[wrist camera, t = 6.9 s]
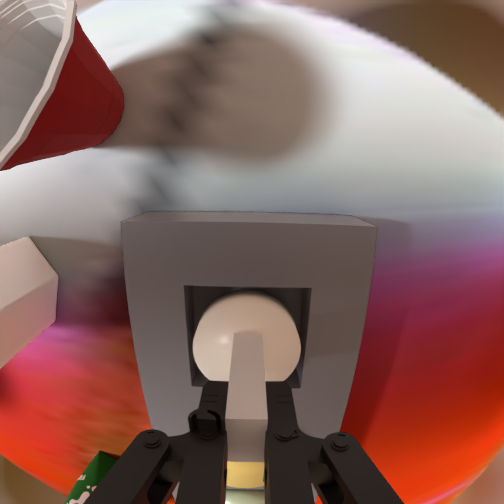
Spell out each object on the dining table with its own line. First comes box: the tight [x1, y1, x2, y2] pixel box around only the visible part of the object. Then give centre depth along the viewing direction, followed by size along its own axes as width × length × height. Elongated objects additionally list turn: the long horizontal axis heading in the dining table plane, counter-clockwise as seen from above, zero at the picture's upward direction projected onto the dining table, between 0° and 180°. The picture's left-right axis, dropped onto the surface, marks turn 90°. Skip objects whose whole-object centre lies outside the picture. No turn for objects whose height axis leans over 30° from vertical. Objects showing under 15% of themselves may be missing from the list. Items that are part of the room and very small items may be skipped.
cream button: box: [193, 289, 301, 381], centre depth 17 cm, size 6×6×2 cm
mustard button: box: [227, 462, 264, 488], centre depth 19 cm, size 6×6×2 cm
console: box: [121, 211, 377, 502], centre depth 22 cm, size 14×34×5 cm, turn 179°
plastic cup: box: [0, 0, 124, 171], centre depth 13 cm, size 11×11×12 cm
